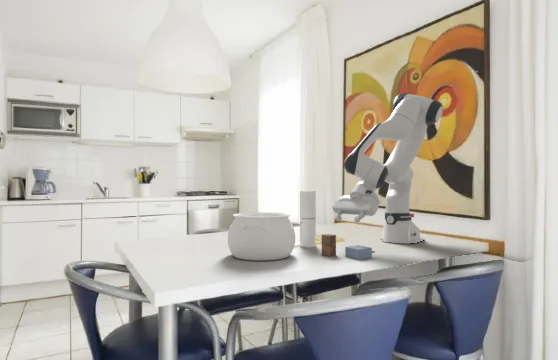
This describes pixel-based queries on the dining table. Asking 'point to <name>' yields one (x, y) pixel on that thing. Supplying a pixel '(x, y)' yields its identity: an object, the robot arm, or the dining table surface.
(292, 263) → the dining table surface
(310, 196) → the cylindrical container
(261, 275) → the dining table surface
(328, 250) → the walnut block
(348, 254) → the slate block
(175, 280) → the dining table surface
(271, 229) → the pot
